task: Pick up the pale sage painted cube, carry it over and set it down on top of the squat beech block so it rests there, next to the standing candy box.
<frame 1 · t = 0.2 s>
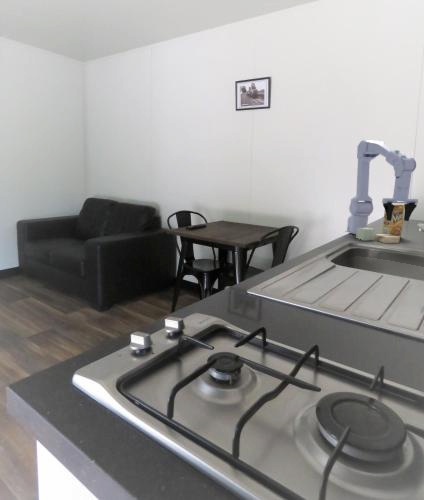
hand: (397, 220, 158), 10 cm above the worktop, tool pointing down, fingers open, 7 cm apart
candy box: (391, 237, 177), on the worktop
beech block: (386, 242, 165), on the worktop
sage cube: (364, 239, 170), on the worktop
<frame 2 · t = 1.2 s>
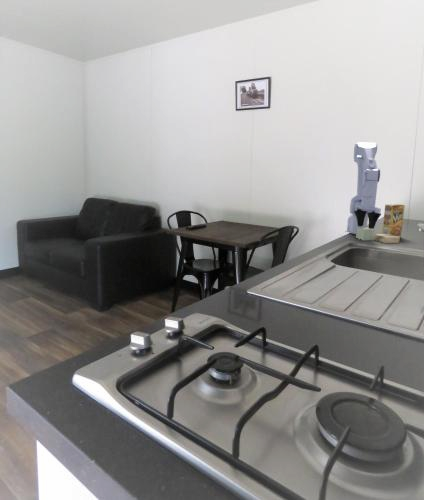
hand: (365, 227, 169), 5 cm above the worktop, tool pointing down, fingers open, 7 cm apart
nothing on the worktop moved.
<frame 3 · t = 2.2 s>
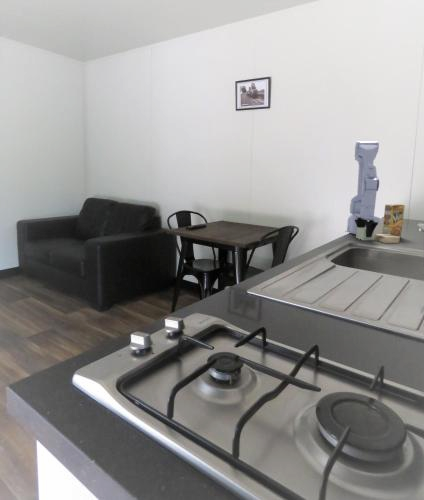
hand: (364, 236, 169), 1 cm above the worktop, tool pointing down, fingers closed on sage cube, 5 cm apart
sage cube: (364, 239, 170), on the worktop, touching gripper
everything else where it was.
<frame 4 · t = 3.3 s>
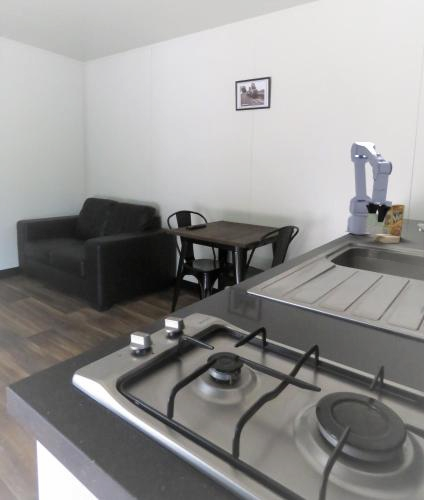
hand: (376, 221, 166), 8 cm above the worktop, tool pointing down, fingers closed on sage cube, 5 cm apart
sage cube: (375, 225, 166), point 7 cm above the worktop, touching gripper
everything else where it was.
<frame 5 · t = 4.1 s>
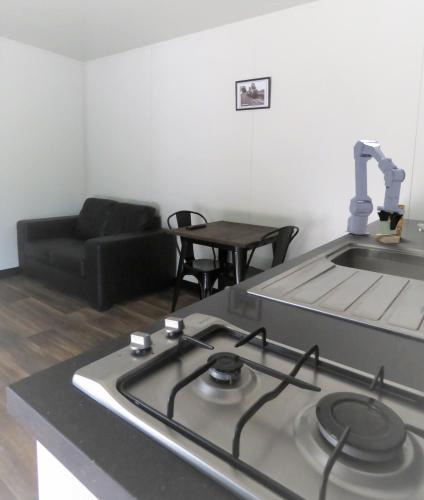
hand: (388, 228, 164), 6 cm above the worktop, tool pointing down, fingers closed on sage cube, 5 cm apart
sage cube: (387, 233, 164), point 4 cm above the worktop, touching gripper
everything else where it was.
when the fingers open (5 cm above the worktop, at t = 4.6 s): sage cube stays where it is, point 3 cm above the worktop.
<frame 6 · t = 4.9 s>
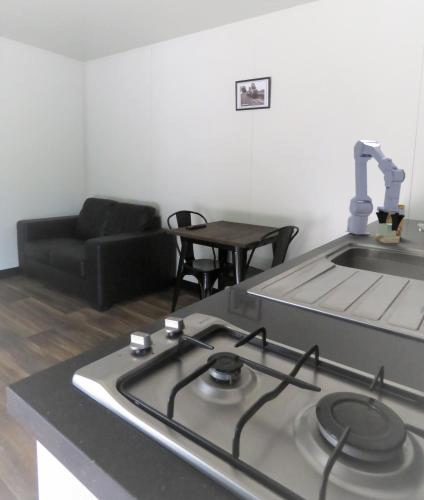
hand: (388, 229, 164), 5 cm above the worktop, tool pointing down, fingers open, 7 cm apart
sage cube: (386, 235, 165), point 3 cm above the worktop
everything else where it was.
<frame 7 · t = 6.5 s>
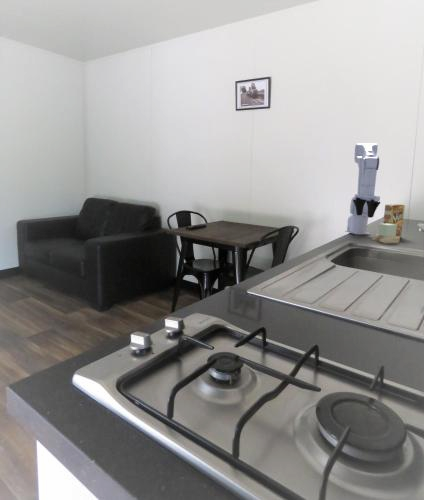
hand: (364, 216, 167), 10 cm above the worktop, tool pointing down, fingers open, 7 cm apart
beech block: (386, 242, 165), on the worktop, touching sage cube
sage cube: (386, 235, 165), point 3 cm above the worktop, touching beech block
everything else where it was.
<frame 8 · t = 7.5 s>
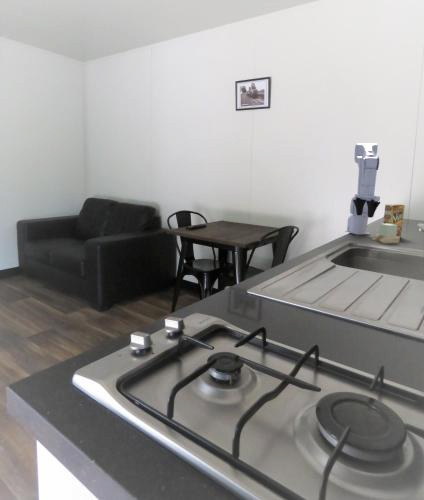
hand: (364, 216, 167), 10 cm above the worktop, tool pointing down, fingers open, 7 cm apart
nothing on the worktop moved.
at the end: sage cube 0.3 cm off-centre on the beech block, point 3.0 cm above the beech block's base; sage cube tilted 1°; the gripper is holding nothing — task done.
